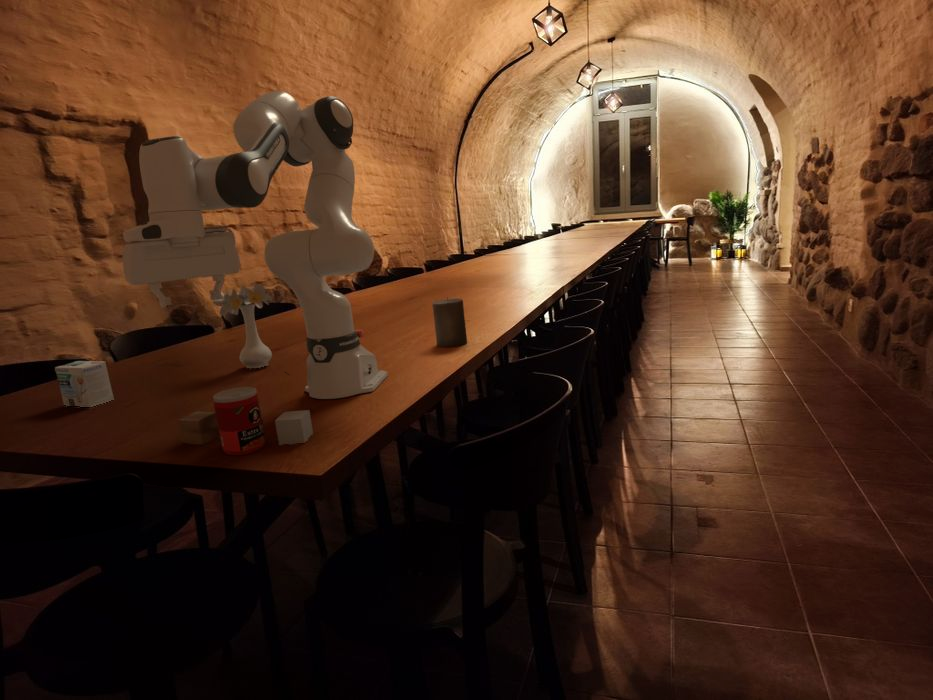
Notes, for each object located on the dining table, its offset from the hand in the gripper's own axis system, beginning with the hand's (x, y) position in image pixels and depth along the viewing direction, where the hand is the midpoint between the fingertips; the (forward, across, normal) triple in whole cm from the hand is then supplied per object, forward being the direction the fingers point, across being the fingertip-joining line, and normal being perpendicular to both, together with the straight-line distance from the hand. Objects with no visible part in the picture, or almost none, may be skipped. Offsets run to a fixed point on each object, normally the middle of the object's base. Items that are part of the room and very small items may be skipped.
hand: (192, 303), depth 110 cm
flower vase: (+27, -36, -52) cm, 69 cm away
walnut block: (+28, +2, -4) cm, 28 cm away
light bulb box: (+28, +6, -61) cm, 67 cm away
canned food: (+28, -1, +10) cm, 29 cm away
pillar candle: (+26, -83, -14) cm, 88 cm away
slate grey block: (+28, -9, +15) cm, 32 cm away
